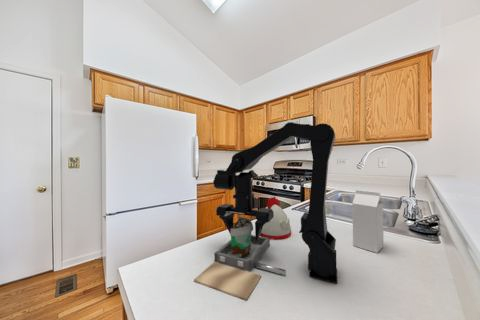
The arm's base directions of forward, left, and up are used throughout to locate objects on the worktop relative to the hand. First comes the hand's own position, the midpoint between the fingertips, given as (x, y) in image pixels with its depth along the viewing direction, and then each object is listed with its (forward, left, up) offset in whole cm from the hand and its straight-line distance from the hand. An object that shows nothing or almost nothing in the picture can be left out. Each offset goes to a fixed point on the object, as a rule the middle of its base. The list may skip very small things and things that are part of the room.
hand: (244, 238), depth 61 cm
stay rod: (-10, +6, -5) cm, 13 cm away
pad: (-2, +14, -5) cm, 15 cm away
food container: (0, 0, -5) cm, 5 cm away
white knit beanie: (-4, -20, -5) cm, 21 cm away
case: (0, 0, -5) cm, 5 cm away
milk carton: (-37, -22, -5) cm, 43 cm away
